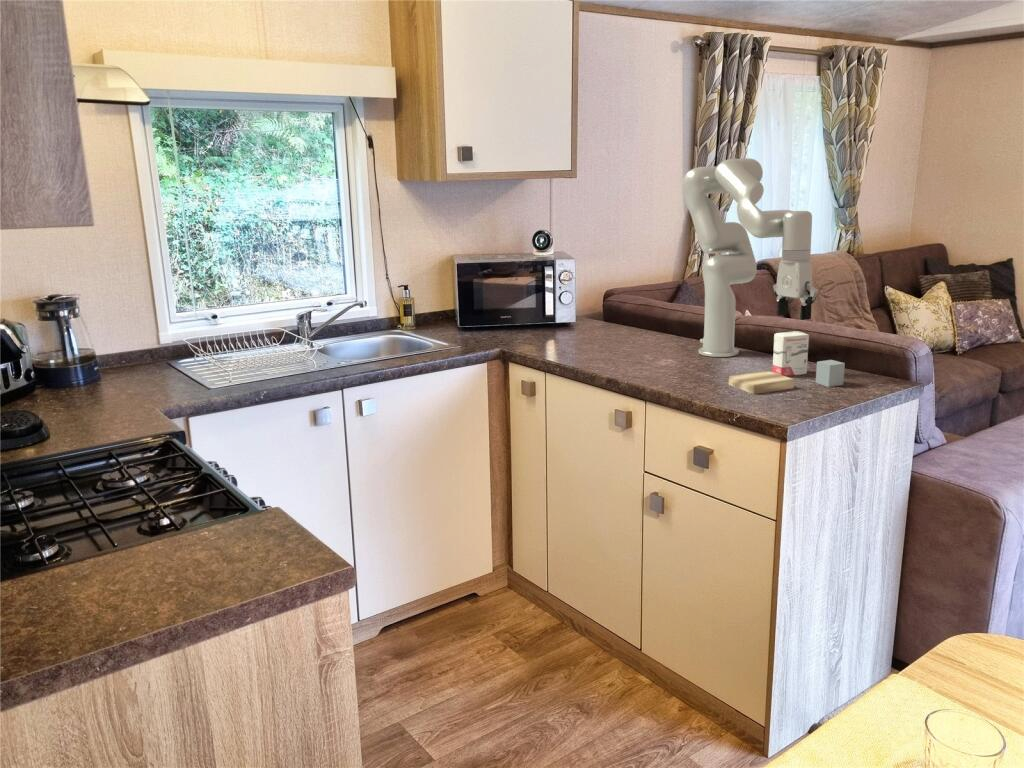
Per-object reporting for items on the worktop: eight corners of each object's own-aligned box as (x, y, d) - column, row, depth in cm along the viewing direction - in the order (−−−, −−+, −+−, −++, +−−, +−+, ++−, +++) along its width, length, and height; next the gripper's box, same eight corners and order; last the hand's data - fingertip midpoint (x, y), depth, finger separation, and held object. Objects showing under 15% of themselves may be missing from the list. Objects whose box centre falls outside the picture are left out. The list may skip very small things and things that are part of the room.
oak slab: (728, 386, 221) (729, 376, 220) (767, 381, 225) (768, 370, 225) (753, 395, 211) (753, 384, 210) (793, 390, 215) (794, 379, 215)
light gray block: (815, 382, 220) (816, 361, 219) (830, 380, 222) (831, 359, 220) (828, 386, 216) (829, 365, 214) (843, 384, 217) (844, 363, 216)
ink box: (781, 377, 227) (783, 336, 224) (771, 373, 232) (773, 333, 229) (807, 374, 229) (810, 333, 227) (797, 370, 234) (799, 330, 231)
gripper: (765, 255, 229) (763, 314, 233) (806, 259, 213) (803, 322, 217) (786, 253, 231) (784, 312, 235) (829, 257, 215) (826, 319, 219)
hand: (793, 317), depth 226 cm, fingers open, 9 cm apart
